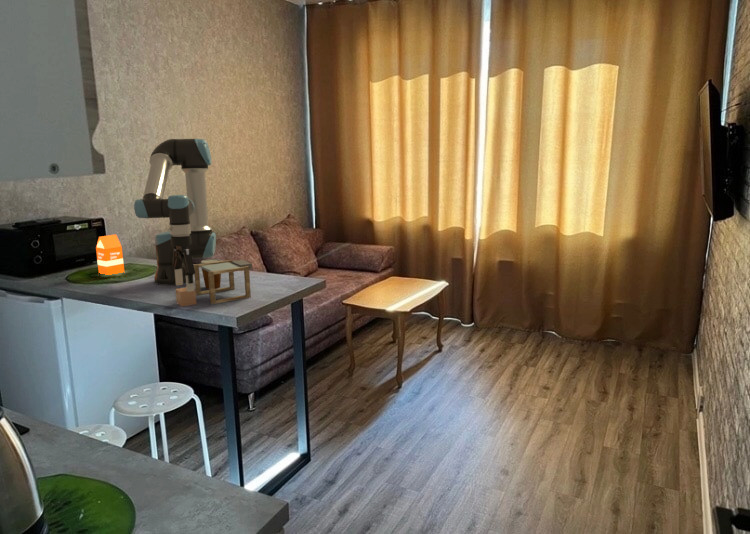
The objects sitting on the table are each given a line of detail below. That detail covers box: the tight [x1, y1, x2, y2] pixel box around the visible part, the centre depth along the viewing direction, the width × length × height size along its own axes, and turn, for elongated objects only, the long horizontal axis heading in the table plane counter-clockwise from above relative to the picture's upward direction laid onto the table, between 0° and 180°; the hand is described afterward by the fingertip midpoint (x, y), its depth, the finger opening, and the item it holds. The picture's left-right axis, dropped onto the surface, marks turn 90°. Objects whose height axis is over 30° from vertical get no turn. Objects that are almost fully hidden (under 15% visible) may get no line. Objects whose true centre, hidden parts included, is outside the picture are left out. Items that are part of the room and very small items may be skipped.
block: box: [175, 286, 197, 307], centre depth 224 cm, size 6×6×6 cm
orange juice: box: [95, 233, 125, 275], centre depth 271 cm, size 8×9×20 cm
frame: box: [193, 259, 252, 305], centre depth 234 cm, size 19×17×13 cm
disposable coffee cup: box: [200, 258, 222, 290], centre depth 249 cm, size 10×10×12 cm
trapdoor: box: [200, 259, 253, 272], centre depth 235 cm, size 15×18×2 cm
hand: (185, 288), depth 223 cm, fingers open, 13 cm apart
